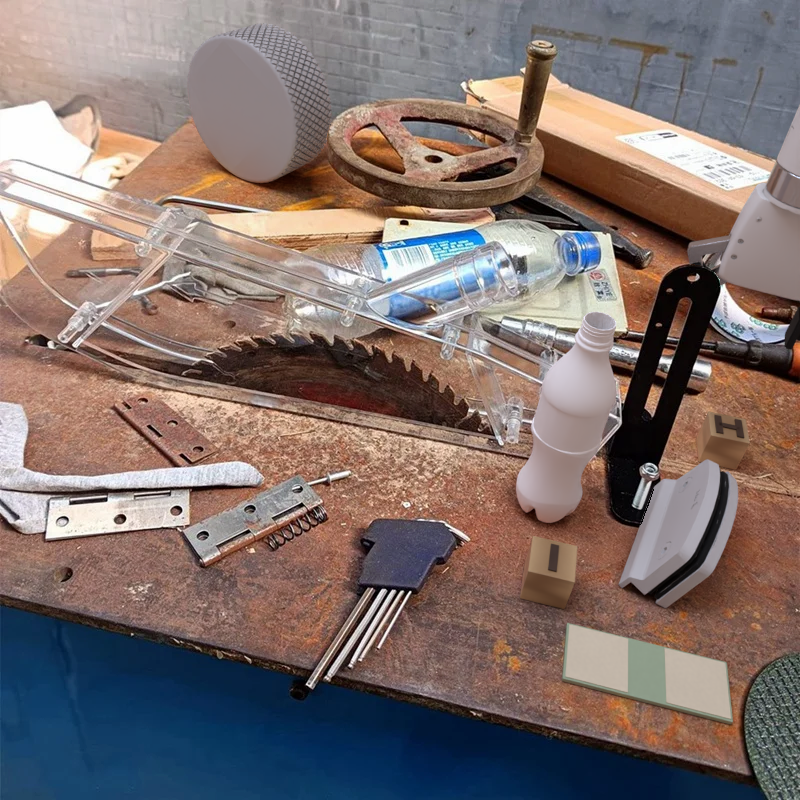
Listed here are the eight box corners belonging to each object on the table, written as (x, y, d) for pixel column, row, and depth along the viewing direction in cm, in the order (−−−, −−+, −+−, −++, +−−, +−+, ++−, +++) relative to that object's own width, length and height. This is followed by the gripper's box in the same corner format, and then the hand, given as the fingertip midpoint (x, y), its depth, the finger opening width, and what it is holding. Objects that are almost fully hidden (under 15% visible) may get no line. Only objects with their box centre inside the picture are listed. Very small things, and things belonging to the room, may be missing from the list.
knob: (330, 183, 142) (333, 41, 126) (296, 201, 135) (294, 54, 119) (229, 145, 151) (219, 9, 135) (192, 161, 144) (178, 19, 128)
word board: (725, 664, 71) (727, 661, 71) (731, 724, 67) (733, 721, 66) (566, 625, 73) (567, 621, 73) (561, 681, 69) (563, 677, 68)
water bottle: (570, 483, 88) (631, 302, 71) (580, 531, 82) (648, 347, 66) (509, 478, 87) (555, 295, 71) (515, 527, 82) (566, 341, 66)
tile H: (732, 445, 95) (746, 417, 92) (736, 470, 92) (750, 442, 88) (695, 437, 95) (708, 409, 92) (698, 462, 92) (711, 434, 89)
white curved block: (654, 484, 88) (712, 436, 81) (688, 508, 88) (749, 463, 81) (617, 587, 77) (680, 542, 70) (655, 616, 76) (723, 574, 69)
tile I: (567, 573, 78) (578, 544, 75) (564, 609, 74) (575, 581, 71) (524, 563, 78) (533, 533, 75) (519, 598, 75) (528, 569, 72)
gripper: (901, 193, 74) (823, 334, 85) (720, 153, 78) (668, 293, 89) (909, 225, 69) (825, 371, 80) (715, 180, 73) (660, 325, 84)
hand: (742, 330), depth 85 cm, fingers open, 9 cm apart
